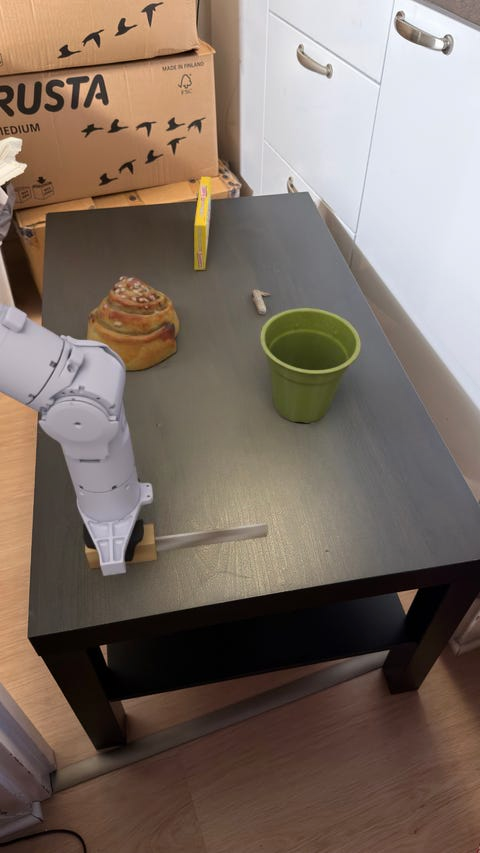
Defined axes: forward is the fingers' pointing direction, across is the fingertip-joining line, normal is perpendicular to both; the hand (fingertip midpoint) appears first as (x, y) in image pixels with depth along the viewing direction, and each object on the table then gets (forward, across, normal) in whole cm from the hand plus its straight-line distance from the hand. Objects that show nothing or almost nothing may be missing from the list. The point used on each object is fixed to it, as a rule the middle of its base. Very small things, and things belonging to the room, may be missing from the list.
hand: (121, 547), depth 65 cm
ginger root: (+2, +41, -23) cm, 47 cm away
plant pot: (+2, +19, -24) cm, 31 cm away
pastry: (+2, +36, -3) cm, 36 cm away
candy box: (+2, +59, -16) cm, 61 cm away
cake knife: (+2, 0, -6) cm, 6 cm away
